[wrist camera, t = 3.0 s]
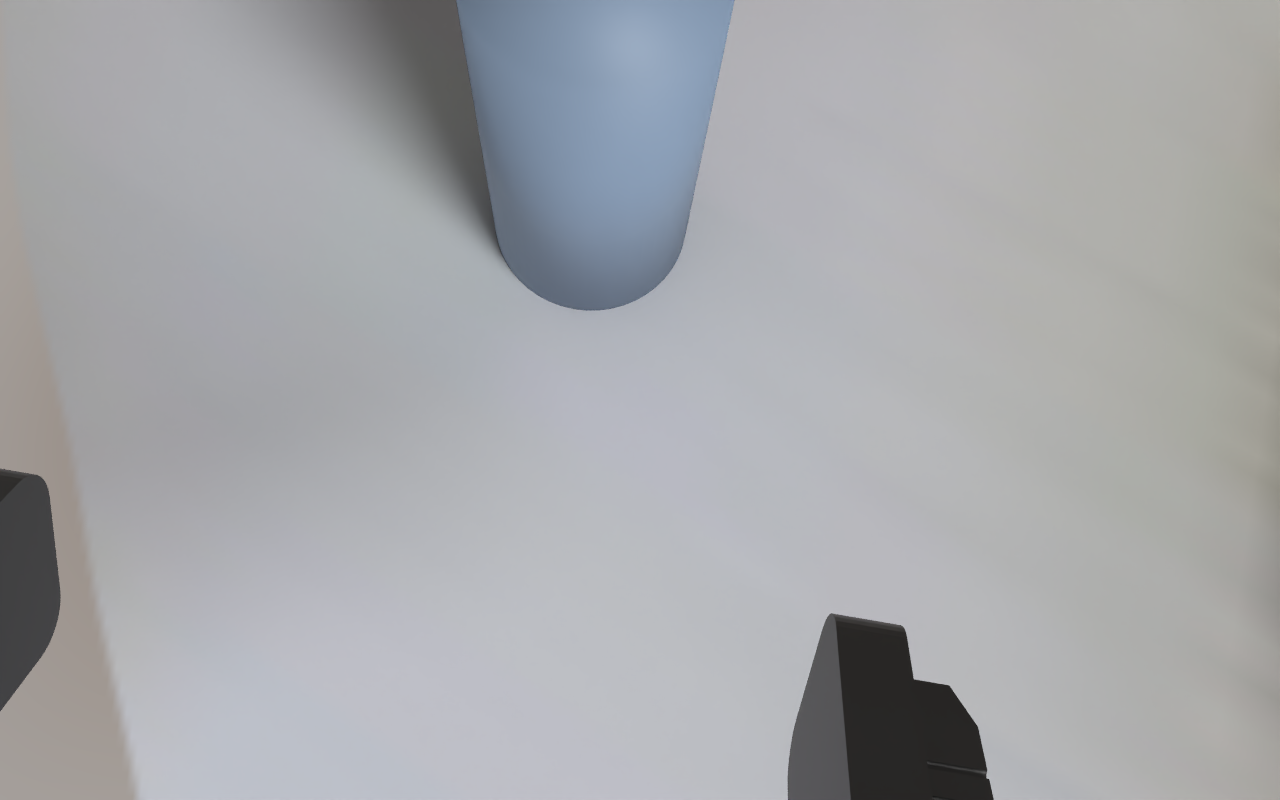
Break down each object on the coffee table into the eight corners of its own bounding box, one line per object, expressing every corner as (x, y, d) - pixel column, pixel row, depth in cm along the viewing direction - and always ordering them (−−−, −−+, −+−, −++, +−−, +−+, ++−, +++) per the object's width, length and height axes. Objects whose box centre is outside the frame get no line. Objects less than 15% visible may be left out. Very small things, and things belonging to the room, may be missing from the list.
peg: (646, 110, 29) (678, -195, 20) (714, 274, 28) (782, 38, 19) (469, 166, 29) (412, -120, 19) (532, 336, 28) (505, 125, 18)
